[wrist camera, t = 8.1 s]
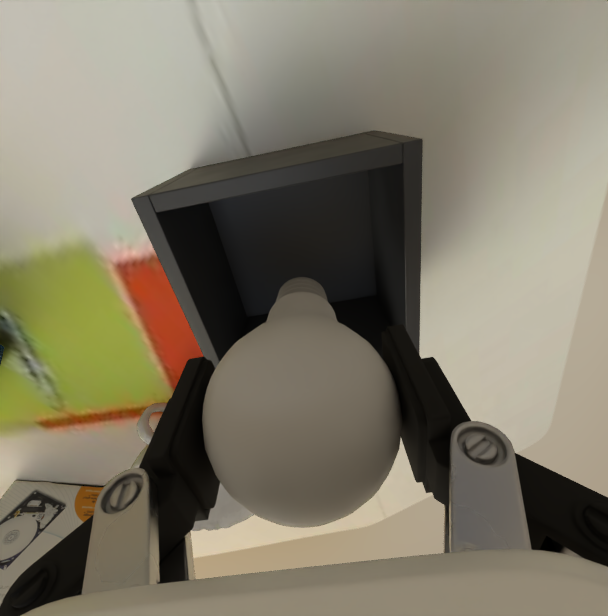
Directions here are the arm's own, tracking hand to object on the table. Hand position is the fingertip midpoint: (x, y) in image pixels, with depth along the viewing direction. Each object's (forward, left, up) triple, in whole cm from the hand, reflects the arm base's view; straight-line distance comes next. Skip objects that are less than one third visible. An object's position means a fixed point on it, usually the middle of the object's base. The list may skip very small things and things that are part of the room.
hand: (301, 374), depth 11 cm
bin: (0, 0, -14) cm, 14 cm away
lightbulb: (0, 0, -6) cm, 6 cm away
